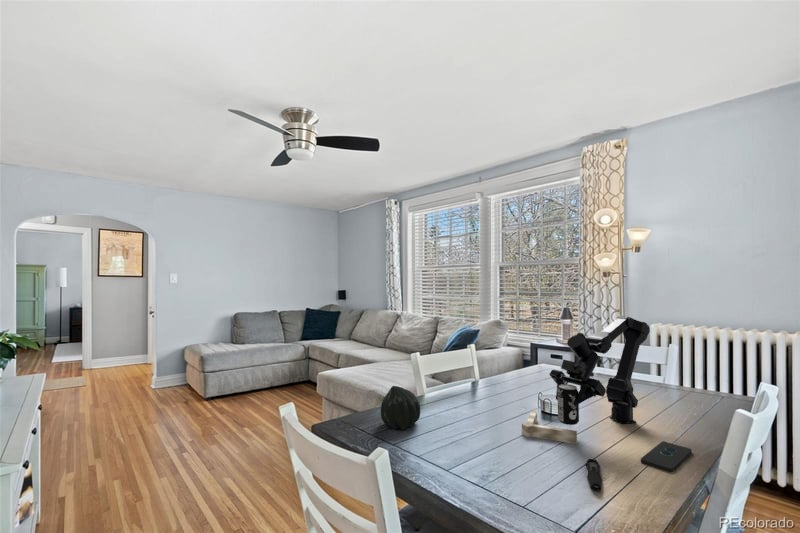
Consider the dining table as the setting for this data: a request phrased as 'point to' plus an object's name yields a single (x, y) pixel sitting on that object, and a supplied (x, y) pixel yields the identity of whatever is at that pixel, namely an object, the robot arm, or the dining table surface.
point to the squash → (400, 408)
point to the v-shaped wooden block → (547, 431)
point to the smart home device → (666, 456)
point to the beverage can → (567, 404)
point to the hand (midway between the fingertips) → (565, 402)
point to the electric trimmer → (594, 474)
